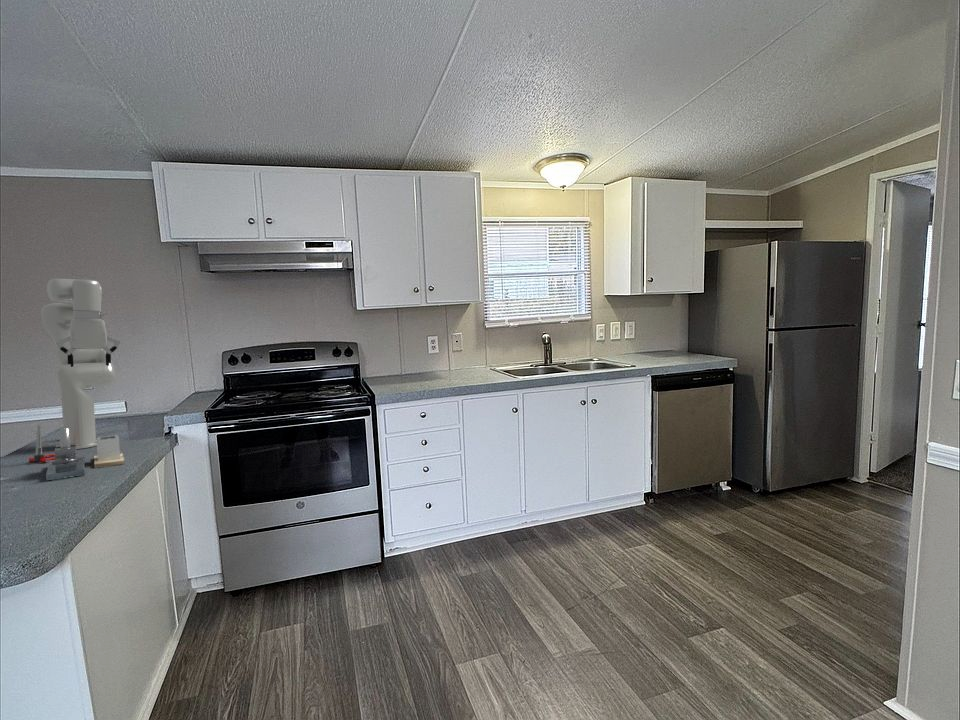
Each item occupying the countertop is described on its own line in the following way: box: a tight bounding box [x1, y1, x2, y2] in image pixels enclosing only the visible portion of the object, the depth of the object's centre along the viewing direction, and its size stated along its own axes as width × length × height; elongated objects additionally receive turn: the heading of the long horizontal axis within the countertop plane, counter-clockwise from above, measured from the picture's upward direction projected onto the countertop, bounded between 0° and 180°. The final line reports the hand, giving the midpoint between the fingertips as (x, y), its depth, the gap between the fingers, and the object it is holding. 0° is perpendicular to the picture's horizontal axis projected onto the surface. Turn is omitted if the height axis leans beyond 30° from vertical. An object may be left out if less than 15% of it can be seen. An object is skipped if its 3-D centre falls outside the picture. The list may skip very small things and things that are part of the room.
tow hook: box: [28, 424, 55, 463], centre depth 173 cm, size 8×13×9 cm
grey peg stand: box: [45, 427, 86, 482], centre depth 159 cm, size 18×9×14 cm, turn 38°
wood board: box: [93, 451, 126, 469], centre depth 171 cm, size 14×8×1 cm, turn 38°
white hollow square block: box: [96, 434, 121, 461], centre depth 171 cm, size 6×6×7 cm
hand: (90, 365), depth 172 cm, fingers open, 9 cm apart
